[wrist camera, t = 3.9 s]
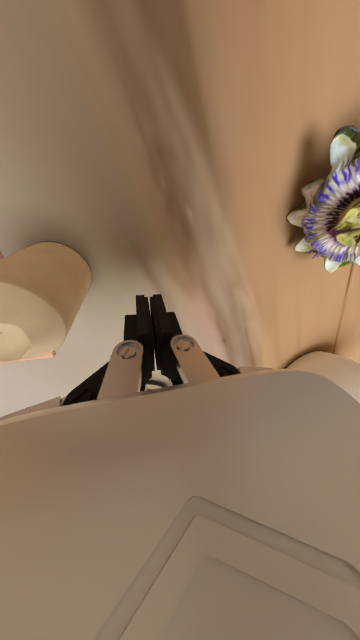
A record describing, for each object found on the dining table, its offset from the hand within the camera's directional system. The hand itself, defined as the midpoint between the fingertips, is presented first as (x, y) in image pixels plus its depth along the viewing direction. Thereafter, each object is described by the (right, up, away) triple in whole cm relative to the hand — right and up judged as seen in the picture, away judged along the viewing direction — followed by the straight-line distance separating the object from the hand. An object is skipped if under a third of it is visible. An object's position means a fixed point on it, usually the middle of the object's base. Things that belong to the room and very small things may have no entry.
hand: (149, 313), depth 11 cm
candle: (-10, +4, +5) cm, 12 cm away
